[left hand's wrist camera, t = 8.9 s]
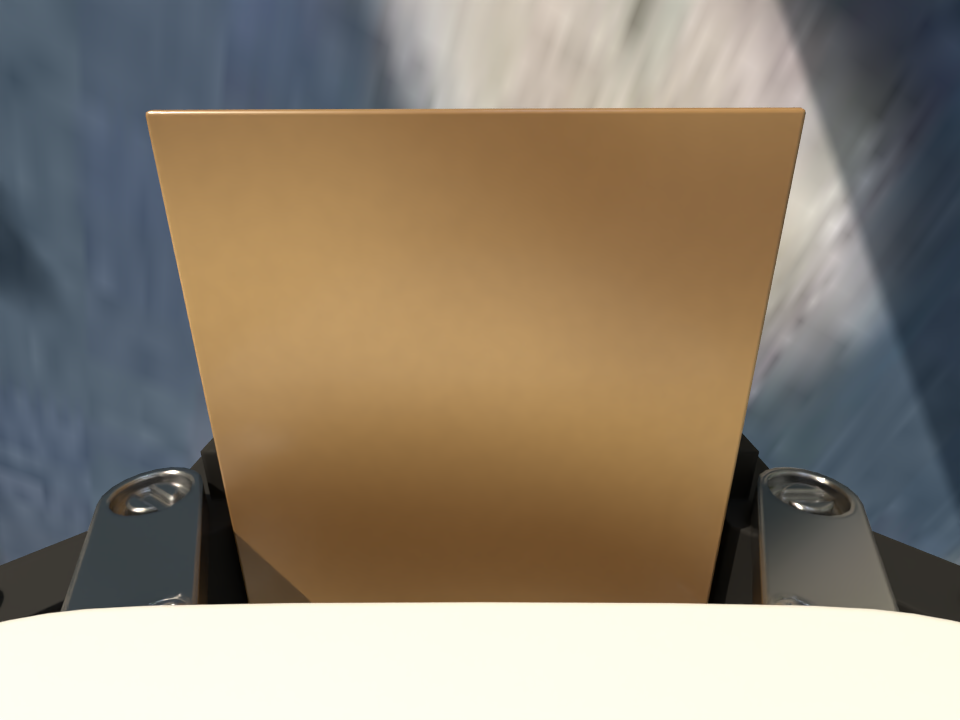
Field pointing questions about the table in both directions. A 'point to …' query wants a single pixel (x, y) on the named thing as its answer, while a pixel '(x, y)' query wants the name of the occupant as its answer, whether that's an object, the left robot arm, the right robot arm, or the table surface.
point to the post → (477, 341)
